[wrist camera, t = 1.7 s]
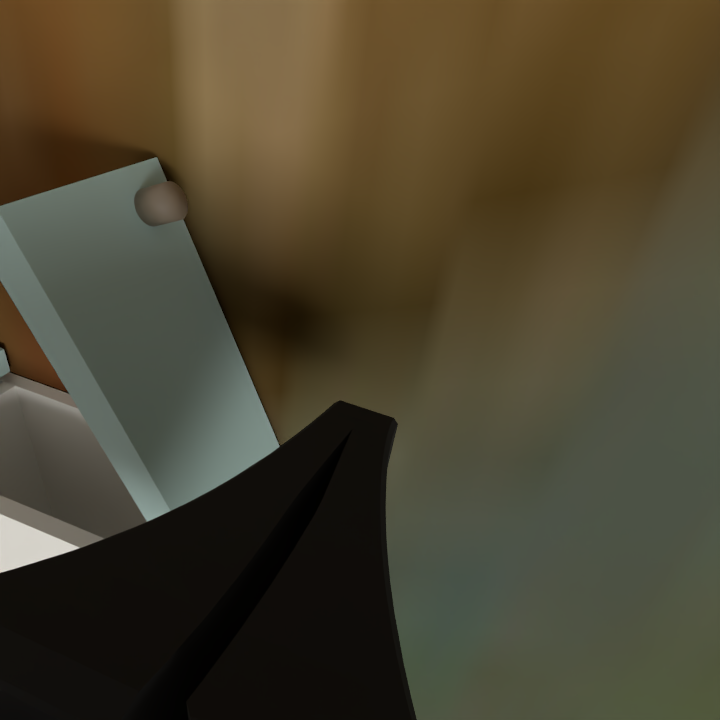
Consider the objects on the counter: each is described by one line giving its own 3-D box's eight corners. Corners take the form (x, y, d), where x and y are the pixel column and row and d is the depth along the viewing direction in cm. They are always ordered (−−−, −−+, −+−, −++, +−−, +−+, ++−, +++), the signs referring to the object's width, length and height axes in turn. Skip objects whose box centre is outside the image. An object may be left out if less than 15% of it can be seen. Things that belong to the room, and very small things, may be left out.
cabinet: (262, 599, 23) (196, 722, 19) (-71, 460, 26) (-188, 540, 22) (274, 420, 17) (182, 543, 13) (-155, 273, 20) (-335, 334, 16)
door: (264, 459, 18) (176, 583, 14) (132, 164, 14) (-48, 220, 10) (310, 459, 17) (231, 590, 13) (186, 147, 13) (15, 201, 9)
